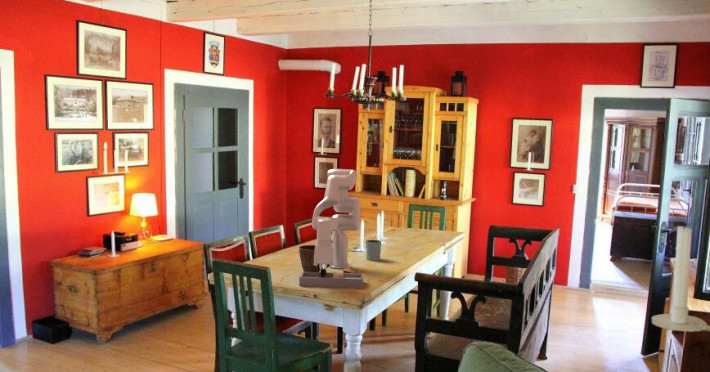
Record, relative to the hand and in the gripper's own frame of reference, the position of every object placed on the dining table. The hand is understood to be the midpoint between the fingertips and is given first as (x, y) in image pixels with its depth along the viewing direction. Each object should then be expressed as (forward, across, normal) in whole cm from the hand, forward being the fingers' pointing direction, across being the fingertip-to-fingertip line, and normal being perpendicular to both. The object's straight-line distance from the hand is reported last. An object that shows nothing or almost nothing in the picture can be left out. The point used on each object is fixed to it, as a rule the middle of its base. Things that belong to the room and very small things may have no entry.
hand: (323, 276), depth 300 cm
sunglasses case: (+4, -12, -18) cm, 22 cm away
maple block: (+1, -8, 0) cm, 8 cm away
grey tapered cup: (+4, -26, -62) cm, 68 cm away
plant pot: (+4, +8, -16) cm, 19 cm away
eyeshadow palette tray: (+4, -4, 0) cm, 6 cm away
